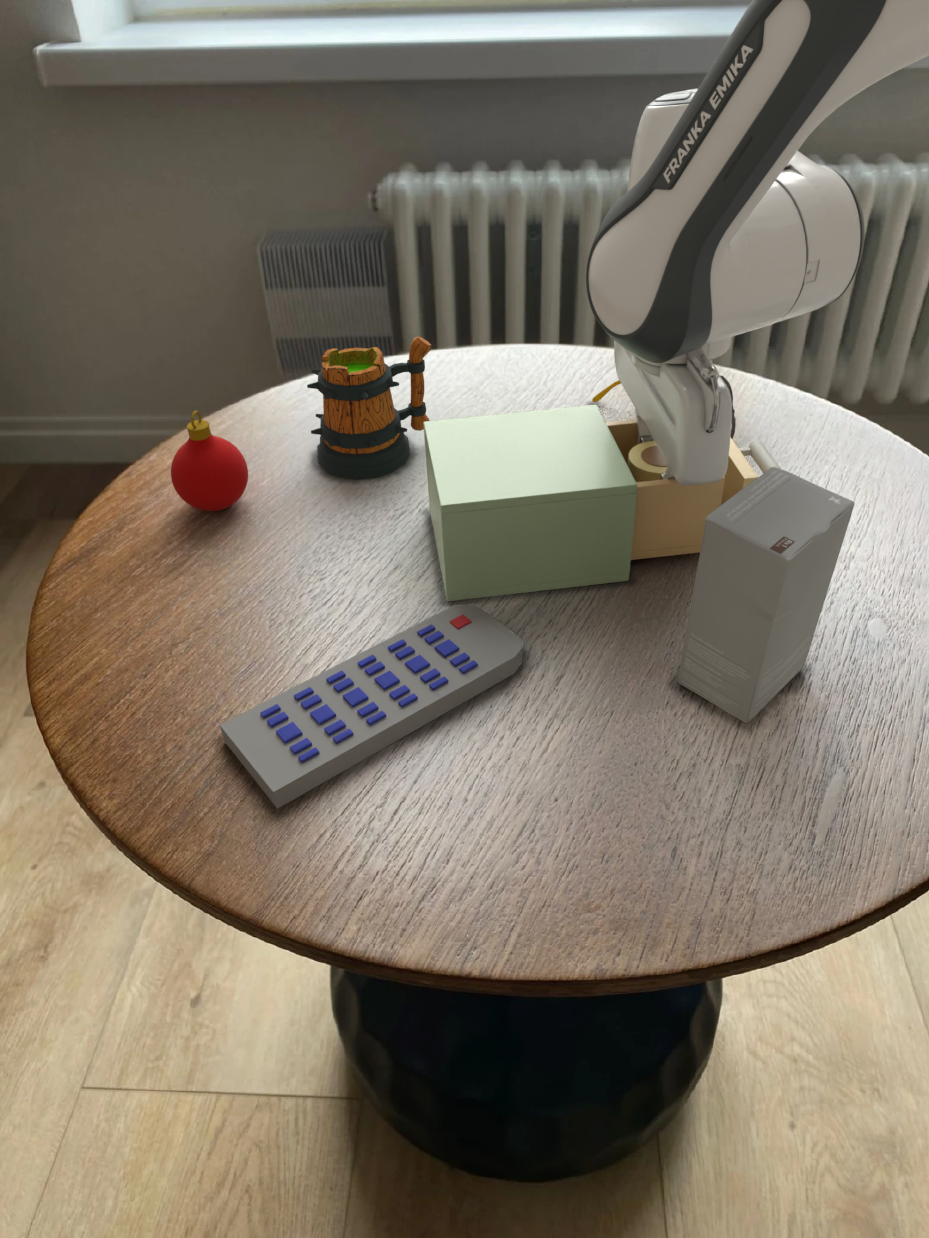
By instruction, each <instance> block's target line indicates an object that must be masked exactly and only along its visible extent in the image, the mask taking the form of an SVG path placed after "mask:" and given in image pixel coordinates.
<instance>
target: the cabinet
mask: <svg viewBox="0 0 929 1238" xmlns="http://www.w3.org/2000/svg"><path fill="white" fill-rule="evenodd" d="M606 422H607V421H606V420H605V418H604V416H603V414H602V412H601V410H600V408H599V406H598V405H597V404H587V405H577V406H567V407H559V408H558V407H557V408H549V409H538V410H528V411H518V412H507V413H499V414H498V413H497V414H489V415H488V414H486V415H478V416H477V415H476V416H467V417H458V418H448V419H447V418H445V419H440V420H439V419H438V420H429V421H426V422H423V425H424V430H423V436H424V437H423V438H424V451H425V464H426V476H427V489H428V492H427V493H428V503H429V513H430V514H429V515H430V521H431V525H432V529H433V530H432V531H433V536H434V540H435V545H436V551H437V556H438V562H439V568H440V572H441V577H442V583H443V588H444V593H445V598H446V602H455V601H463V600H472V599H480V598H490V597H498V596H507V595H517V594H525V593H532V592H533V593H534V592H542V591H543V592H544V591H550V590H560V589H561V590H562V589H570V588H577V587H587V586H594V585H595V586H596V585H603V584H605V585H606V584H611V583H613V584H614V583H622V582H629V580H630V573H631V561H632V560H631V551H632V540H633V529H634V518H635V507H636V495H637V483H636V481H635V479H634V477H633V475H632V473H631V471H630V469H629V468H628V466H627V464H626V462H625V460H624V458H623V456H622V454H621V452H620V450H619V448H618V446H617V444H616V442H615V440H614V438H613V436H612V434H611V432H610V430H609V428H608V426H607V424H606Z"/></svg>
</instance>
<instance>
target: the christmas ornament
mask: <svg viewBox="0 0 929 1238" xmlns="http://www.w3.org/2000/svg"><path fill="white" fill-rule="evenodd" d="M196 414H197V416H198V419H195V415H196ZM186 430H187V434H188V439H187V441H185V442H184V443H183V444H181V446H180V447H179V448H178V449H177V451H176V453H175V454H174V456H173V457H172V461H171V467H170V478H171V483H172V486H173V489H174V490H175V492H176V494H177V495H178V496H179V498H180V499H181V500H182V501H184V502H185V503H186V504H187V505H188V506H190V507H193V508H194V509H197V510H200V511H204V512H218V511H223V510H225V509H227V508H230V507H232V506H233V505H234V504H236V502H237V501H239V500H240V498H241V497H242V496H243V494H244V493H245V490H246V489H247V486H248V481H249V469H248V464H247V460H246V458H245V457H244V454H243V453H242V451H240V449H239V448H238V447H237V446H236V445H235V444H233V443H232V442H231V441H229V440H227V439H226V438H223V437H220V436H216V435H214V434H212V430H211V427H210V422H209V421H208V420H205V419H202V414H201V412H200V411H198V410H194V411H193V412H192V413H191V415H190V422H189V423H187V425H186Z"/></svg>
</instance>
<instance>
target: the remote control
mask: <svg viewBox="0 0 929 1238" xmlns="http://www.w3.org/2000/svg"><path fill="white" fill-rule="evenodd" d="M523 642H524V641H523V639H522V638H520V636H518V635H517V634H516V633H514V632H513V631H512V630H510V628H508V627H507V626H505V625H504V624H503V623H501V622H500V621H499V620H498V619H497V618H495V617H494V616H493V615H491V614H490V613H489V612H488V611H486V610H485V609H484V608H482V607H481V606H477V605H472V604H466V603H465V604H459V605H452V606H449V607H448V608H446V609H444V610H441V611H439V612H438V613H435V614H434V615H432V616H430V617H428V618H426V619H424V620H423V621H421V622H419V623H417V624H414V625H413V626H411V627H409V628H407V629H405V630H403V631H401V632H399V633H396V634H395V635H393V636H391V637H388V638H387V639H385V640H383V641H381V642H379V643H376V644H375V645H373V646H371V647H370V648H368V649H366V650H364V651H361V652H360V653H357V654H356V655H354V656H352V657H349V658H347V659H346V660H344V661H342V662H339V663H338V664H336V665H334V666H332V667H329V669H326V670H324V671H323V672H321V673H318V674H316V675H314V676H312V677H311V678H309V679H307V680H304V681H303V682H300V683H299V684H297V685H295V686H293V687H291V688H289V689H287V690H285V691H283V692H282V693H279V694H277V695H275V696H273V697H272V698H269V699H268V700H266V701H264V702H262V703H260V704H258V705H256V706H254V707H252V708H250V709H248V710H246V711H244V712H242V713H240V714H238V715H236V716H234V717H232V718H230V719H228V720H226V721H224V722H222V723H220V724H219V727H220V731H221V735H222V738H223V741H224V743H225V744H226V745H227V747H229V749H230V750H231V752H232V753H233V754H234V755H235V757H236V758H237V759H238V761H239V762H240V764H241V765H242V766H243V767H244V768H245V770H246V771H247V772H248V773H249V775H250V776H251V778H253V780H254V782H255V783H256V784H257V785H258V786H259V787H260V789H261V790H262V791H263V793H264V794H265V795H266V796H267V798H268V799H269V800H270V801H271V803H272V804H273V806H275V808H276V809H280V808H281V807H283V806H285V805H286V804H288V803H290V802H293V801H294V800H295V799H297V798H299V797H301V796H302V795H305V794H306V793H307V792H309V791H311V790H313V789H315V788H317V787H318V786H320V785H322V784H324V783H325V782H327V781H328V780H330V779H332V778H334V777H336V776H338V775H340V774H341V773H343V772H345V771H346V770H348V769H350V768H351V767H353V766H355V765H357V764H359V763H360V762H362V761H364V760H366V759H368V758H369V757H372V756H373V755H375V754H377V753H378V752H380V751H382V750H383V749H385V748H386V747H388V746H390V745H392V744H394V743H396V742H397V741H399V740H401V739H403V738H404V737H405V736H408V735H409V734H411V733H413V732H414V731H417V730H418V729H420V728H421V727H423V726H425V725H427V724H429V723H431V722H432V721H434V720H436V719H438V718H439V717H441V716H443V715H444V714H446V713H448V712H450V711H452V710H453V709H455V708H457V707H458V706H461V705H462V704H464V703H465V702H467V701H469V700H471V699H472V698H474V697H476V696H478V695H479V694H481V693H483V692H485V691H486V690H488V689H490V688H493V687H494V686H496V685H497V684H499V683H500V682H502V681H504V680H506V679H508V678H510V677H511V676H513V675H514V674H516V672H517V671H518V670H519V668H520V666H521V665H522V663H523V654H524V653H523V649H524V647H523V645H524V644H523Z"/></svg>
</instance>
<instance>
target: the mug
mask: <svg viewBox="0 0 929 1238" xmlns="http://www.w3.org/2000/svg"><path fill="white" fill-rule="evenodd" d="M431 349H432V344H431V343H430V342H429V341H428V340H427V339H425V338H423V337H421V336H416V337H414V338H413V339H412V341H411V343H410V346H409V351H408V359H407V360H406V362H397V363H393V364H391V365H388V364H386V363H385V357H384V355H383V351H382V350H381V349H380V348H379V347H378V346H373V347H369V348H366V347H351V348H344V349H338V348H336V347H333V348H329V349H326V350H325V352H323V355H322V356H321V369H312V370H311V373H312V374H314V375H316V376H317V381H315V382H312V383H309V384H307V386H306V387H307V389H313V390H317V391H318V392H320V393H321V394H322V404H323V405H322V406H323V408H322V409H323V413H315V417H316V418H317V419H319V420H320V424H319V425H320V427H318V428H315V429H312V430H311V429H310V434H311V435H319V444H318V445H317V446H316V454H317V462H318V465H319V466H320V467H321V468H322V470H323V471H324V472H326V473H328V474H330V475H332V476H335V477H338V478H342V479H349V480H350V479H351V480H363V479H365V480H366V479H372V478H373V479H375V478H378V477H382V476H385V475H387V474H391V473H393V472H395V471H396V470H398V469H399V468H401V467H402V466H404V465H405V464H406V463H407V461H408V459H409V457H410V456H411V448H410V447H411V446H410V441H409V437H408V436H407V435H406V434H405V433H406V432H407V433H408V428H406V427H403V426H402V421H404V420H406V419H408V418H409V417H410V427H411V429H412V430H414V431H420V432H421V431H424V425H423V422H426V421H430V418H429V417H428V416H427V414H426V413H427V405H426V402H424V398H425V377H424V372H425V370H426V363H425V359H424V358H425V357H426V356H427V355H428V354H429V352H431ZM403 373H409V374H410V403H408V404H407V405H408V406H407V407H406V408H402V409H399V410H398V409H396V408H395V405H394V400H393V396H392V392H391V388H394V387H395V388H396V387H399V386H400V382H398V381H394V377H395V376H397V375H399V374H403Z"/></svg>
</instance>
